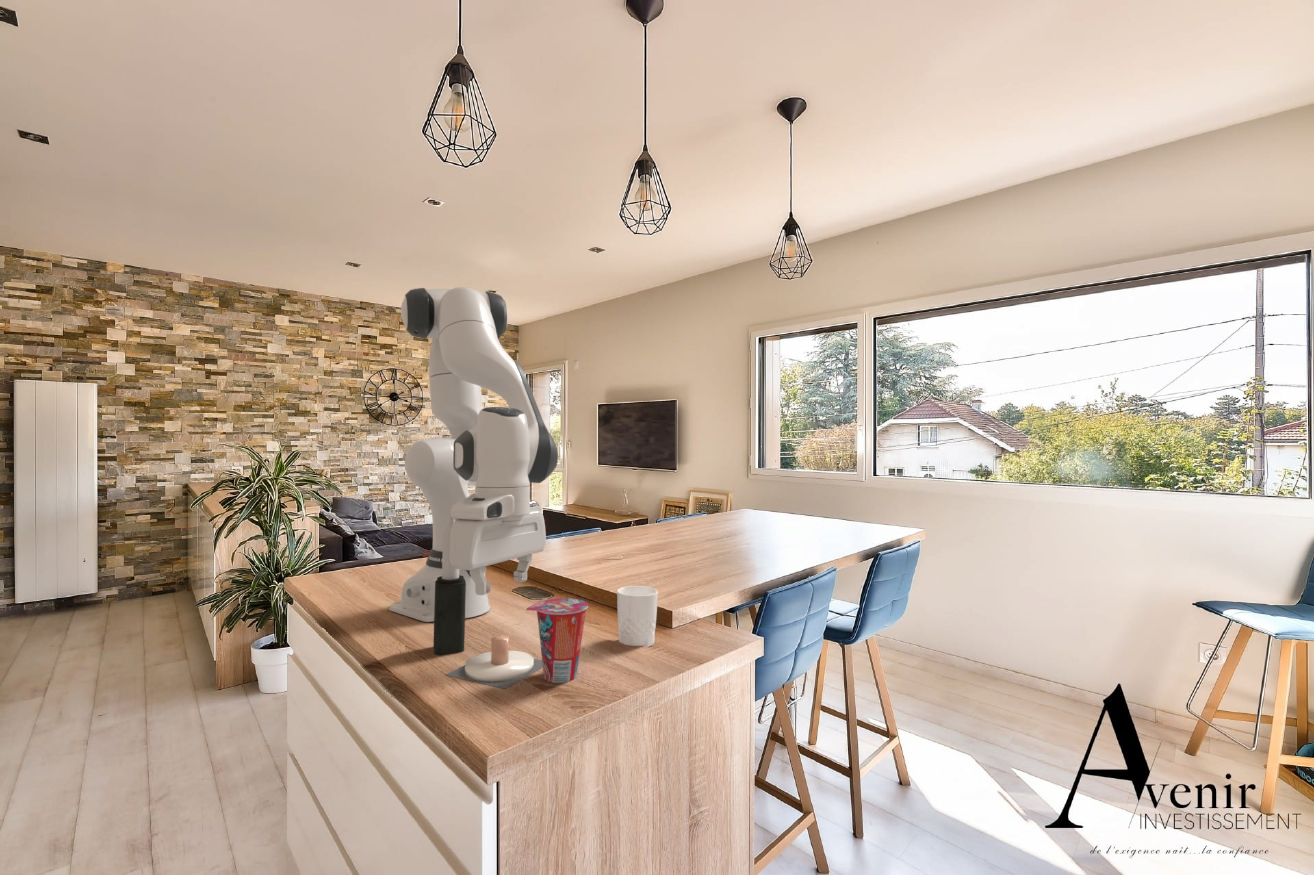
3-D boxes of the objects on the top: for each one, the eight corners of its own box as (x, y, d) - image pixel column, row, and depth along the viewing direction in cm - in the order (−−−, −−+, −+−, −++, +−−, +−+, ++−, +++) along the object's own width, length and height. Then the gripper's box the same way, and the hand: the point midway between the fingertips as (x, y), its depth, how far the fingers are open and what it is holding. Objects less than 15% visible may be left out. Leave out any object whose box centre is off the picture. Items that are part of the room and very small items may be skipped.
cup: (562, 665, 97) (564, 595, 98) (597, 678, 92) (598, 604, 92) (517, 682, 90) (519, 606, 90) (552, 697, 85) (554, 616, 85)
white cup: (652, 651, 105) (653, 597, 105) (611, 648, 106) (612, 594, 107) (660, 637, 112) (661, 587, 113) (622, 634, 114) (623, 584, 114)
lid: (449, 674, 91) (450, 642, 91) (495, 652, 101) (496, 624, 102) (504, 686, 87) (505, 653, 87) (546, 662, 97) (547, 633, 97)
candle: (433, 649, 104) (436, 512, 104) (462, 645, 106) (465, 511, 106) (434, 658, 99) (437, 515, 100) (464, 655, 101) (468, 514, 102)
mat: (445, 678, 91) (445, 674, 91) (495, 654, 102) (495, 650, 102) (505, 692, 86) (505, 688, 86) (550, 665, 97) (550, 662, 97)
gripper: (526, 498, 105) (525, 573, 105) (442, 508, 87) (442, 599, 86) (554, 499, 103) (554, 576, 102) (475, 510, 84) (474, 604, 84)
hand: (502, 587), depth 94 cm, fingers open, 8 cm apart
